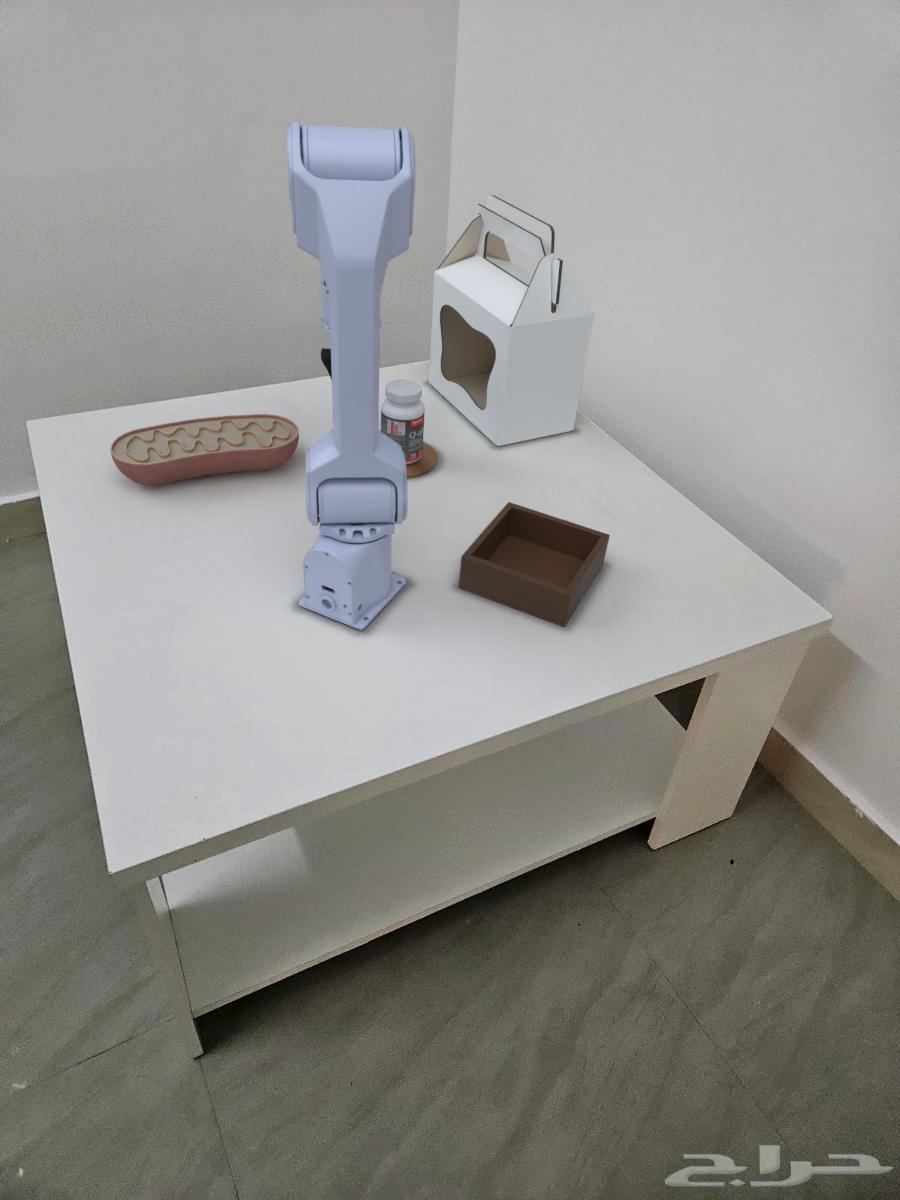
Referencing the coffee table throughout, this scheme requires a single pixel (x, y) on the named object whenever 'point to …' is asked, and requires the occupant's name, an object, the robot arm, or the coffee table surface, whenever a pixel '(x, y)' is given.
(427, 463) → the coaster
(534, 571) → the open box
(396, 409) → the pill bottle
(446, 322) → the gable box
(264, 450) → the anatomical model
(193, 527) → the coffee table surface
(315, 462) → the robot arm
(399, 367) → the coffee table surface
